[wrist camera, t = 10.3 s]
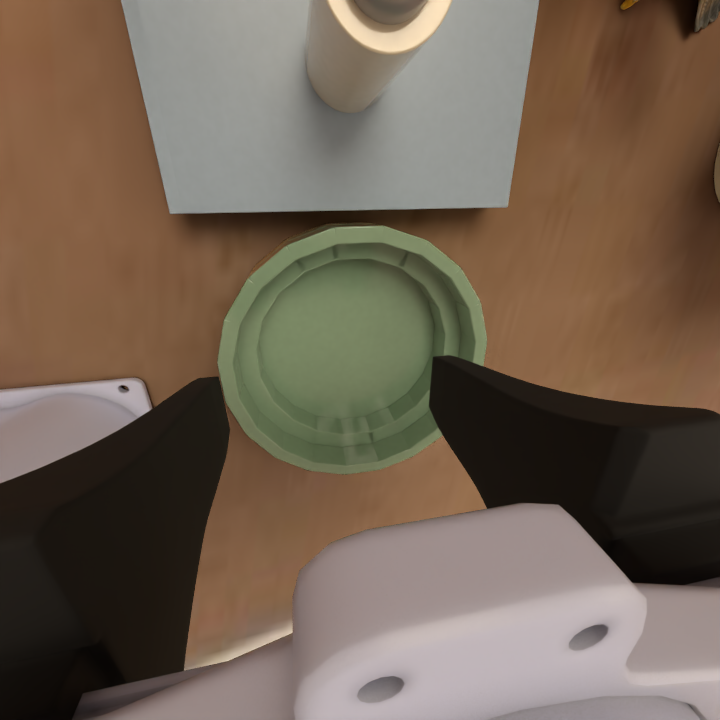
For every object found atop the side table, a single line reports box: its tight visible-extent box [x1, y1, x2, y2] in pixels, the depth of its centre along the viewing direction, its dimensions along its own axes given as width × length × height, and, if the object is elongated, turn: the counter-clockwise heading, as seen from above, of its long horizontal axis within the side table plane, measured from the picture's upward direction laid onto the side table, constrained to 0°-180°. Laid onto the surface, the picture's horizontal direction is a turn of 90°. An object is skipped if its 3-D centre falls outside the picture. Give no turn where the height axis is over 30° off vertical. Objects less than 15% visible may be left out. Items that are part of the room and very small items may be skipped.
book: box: [121, 0, 539, 214], centre depth 15 cm, size 16×11×2 cm
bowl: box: [217, 222, 487, 475], centre depth 19 cm, size 14×14×4 cm
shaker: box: [304, 0, 452, 113], centre depth 10 cm, size 4×4×8 cm
